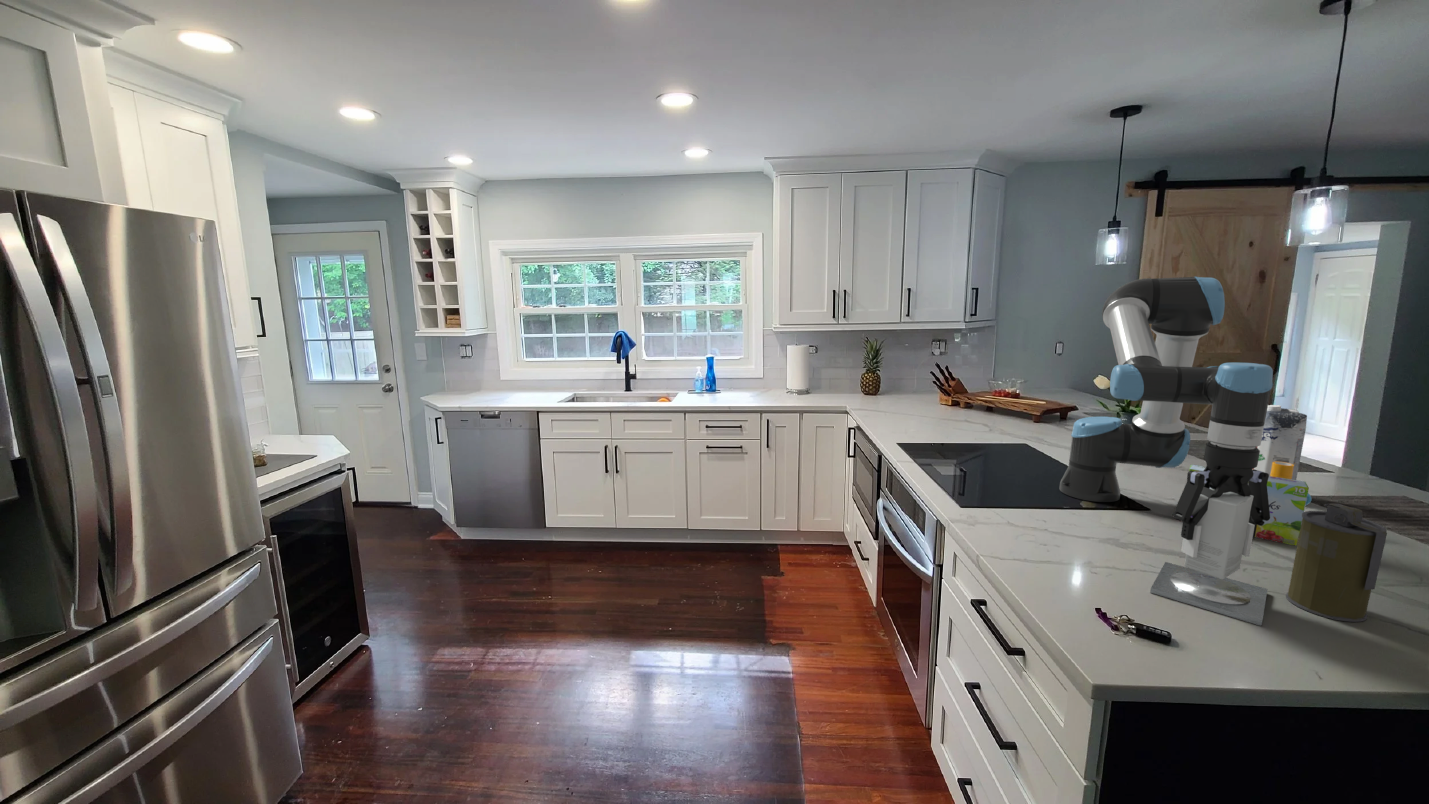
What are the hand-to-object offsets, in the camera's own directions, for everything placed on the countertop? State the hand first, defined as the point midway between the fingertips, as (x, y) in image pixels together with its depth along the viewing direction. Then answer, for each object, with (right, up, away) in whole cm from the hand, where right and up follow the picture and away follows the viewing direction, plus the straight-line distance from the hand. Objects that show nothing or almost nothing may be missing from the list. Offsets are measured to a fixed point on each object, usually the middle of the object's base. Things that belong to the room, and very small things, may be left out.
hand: (1214, 553), depth 108 cm
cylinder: (+50, -1, +38) cm, 63 cm away
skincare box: (0, -3, +1) cm, 3 cm away
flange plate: (0, -8, +2) cm, 8 cm away
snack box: (+33, -3, +30) cm, 45 cm away
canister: (+18, -9, -4) cm, 20 cm away
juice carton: (+65, +2, +54) cm, 85 cm away
